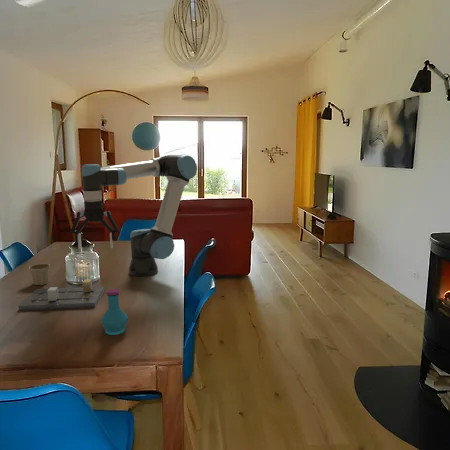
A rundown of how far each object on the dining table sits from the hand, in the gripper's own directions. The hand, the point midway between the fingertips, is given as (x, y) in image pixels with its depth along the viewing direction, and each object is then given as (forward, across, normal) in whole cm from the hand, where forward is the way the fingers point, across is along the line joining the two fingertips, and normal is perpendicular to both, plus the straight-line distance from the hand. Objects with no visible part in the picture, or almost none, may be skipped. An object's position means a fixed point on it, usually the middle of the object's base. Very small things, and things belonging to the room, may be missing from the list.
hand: (96, 248), depth 175 cm
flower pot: (+22, +31, -19) cm, 42 cm away
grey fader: (+19, +17, +10) cm, 27 cm away
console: (+21, +14, +6) cm, 26 cm away
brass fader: (+19, +4, +2) cm, 20 cm away
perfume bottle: (+21, -13, +39) cm, 47 cm away
